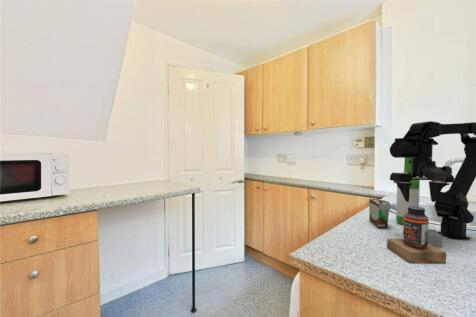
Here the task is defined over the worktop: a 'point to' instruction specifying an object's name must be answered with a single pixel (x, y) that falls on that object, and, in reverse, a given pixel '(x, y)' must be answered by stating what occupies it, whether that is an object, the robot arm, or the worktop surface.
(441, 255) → the walnut block
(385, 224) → the food container
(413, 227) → the supplement bottle
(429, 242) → the slate block
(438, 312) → the worktop surface
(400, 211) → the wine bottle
